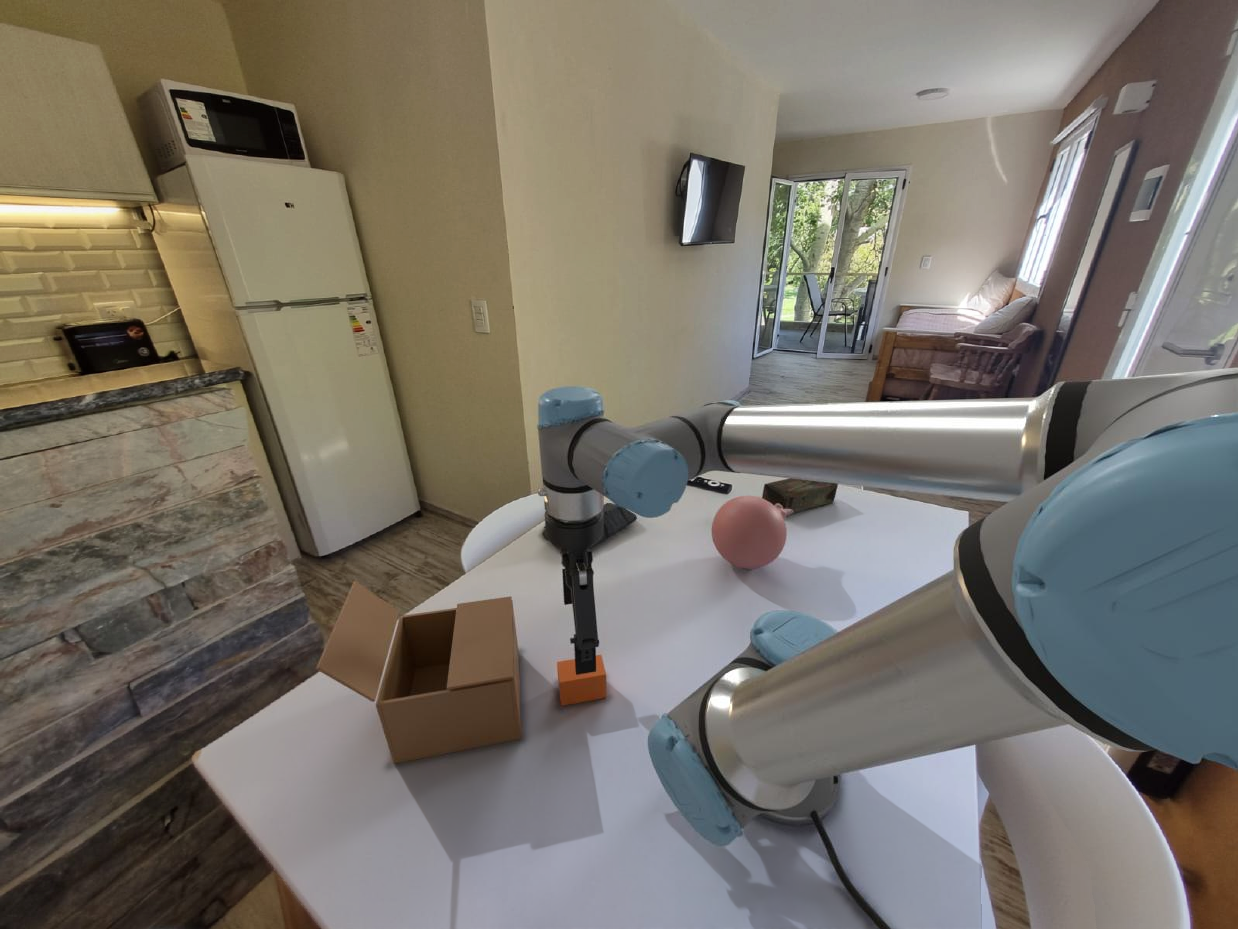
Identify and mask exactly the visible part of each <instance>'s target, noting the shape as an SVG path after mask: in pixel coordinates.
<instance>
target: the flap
mask: <svg viewBox="0 0 1238 929" xmlns="http://www.w3.org/2000/svg"><path fill="white" fill-rule="evenodd" d="M399 617H400V611H399V610H397V609H396V608H395V607H393V606H392V605H390V604H389V603H388V602H386V601H385V600H383V599H382V598H381V597H379V596H378V595H377V594H375V593H374V592H372V591H371V590H369V589H368V588H367V587H365V586H364V585H362V584H360V582H358V581H357V580H354V581H353V582H352V585H351V587H350V588H349V591H348V594H347V596H346V598H345V600H344V603H343V605H342V607H341V610H340V612H339V615H338V617H337V619H336V621H335V623H334V625H333V628H332V631H331V632H330V635H329V636H328V639H327V642H326V644H325V646H324V649H323V652H322V653H321V655H320V658H319V661H318V663H317V665H316V667H315V670H316V671H318V672H320V673H322V674H323V675H325V676H327V677H329V678H331V679H332V680H333V681H336V682H337V683H339V684H340V685H342V686H344V687H346V688H348V689H350V690H351V691H353V692H355V693H357V694H358V695H360V696H361V697H364V698H365V699H367V700H368V701H370V702H371V703H373V702H375V701H376V698H377V696H378V695H377V694H378V692H379V689H380V684H381V681H382V678H383V674H384V671H385V667H386V666H385V665H386V663H387V660H388V659H387V658H388V656H389V653H390V649H391V645H392V642H393V638H394V635H395V631H396V627H397V624H398V620H399Z"/></svg>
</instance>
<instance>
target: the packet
mask: <svg viewBox="0 0 1238 929" xmlns="http://www.w3.org/2000/svg"><path fill="white" fill-rule="evenodd" d="M556 668H557V670H556V671H557V682H558V692H559V700H560V706H561V707H564V706H568V705H569V706H570V705H575V704H580V703H584V702H590V701H595V700H601V699H607V672H606V668H605V664H604V659H603V655H602V654H596V672H591V673H585V674H579V675H576V671H575V658H572V659H567V660H566V659H564V660H561V661H556Z"/></svg>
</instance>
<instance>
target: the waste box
mask: <svg viewBox="0 0 1238 929" xmlns="http://www.w3.org/2000/svg"><path fill="white" fill-rule="evenodd" d="M387 658H388V659H387V661H386V664H385V665H386V666H385V668H384V672H383V675H382V679H381V682H380V684H381V685H380V686H379V690H378V693H377V694H378V695H377V697H376V698H377V699H376V702H375V708H376V711H377V714H378V718H379V721H380V724H381V728H382V732H383V733H384V737H385V740H386V744H387V746H388V750H389V752H390V756H391V760H392V763H393V764H400V763H405V762H409V761H416V760H419V759H425V758H431V757H436V756H440V755H445V754H451V753H456V752H460V751H465V750H471V749H476V748H481V747H486V746H491V745H496V744H500V743H507V742H511V741H517V740H521V739H523V736H522V735H523V734H522V705H521V704H522V703H521V682H520V681H521V680H520V679H521V678H520V677H521V676H520V652H519V644H518V636H517V627H516V617H515V610H514V601H513V598H512V596H503V597H495V598H490V599H481V600H476V601H468V602H461V603H460V602H459V603H457V604H456V607H453V608H445V609H439V610H432V611H431V610H430V611H424V612H419V613H418V612H417V613H411V614H404V615H403V614H402V615H399V617H398V620H397V624H396V628H395V631H394V635H393V639H392V642H391V646H390V650H389V653H388V657H387Z"/></svg>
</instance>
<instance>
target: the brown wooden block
mask: <svg viewBox="0 0 1238 929" xmlns="http://www.w3.org/2000/svg"><path fill="white" fill-rule="evenodd" d="M838 486H839V484H837V483H828V482H819V481H810V480H801V479H792V478H785V479H780V480H776V481H772V482H768V483H764V486H763V489H762V495H761V498H762V499H765V500H767V501H768V502H770V503H771V504H773V505H774V506H775V504H777V503H779V504H780V505H782V507H783V509H792V510H793V514H794V513H797V512H801V511H805V510H809V509H813V508H817V507H820V506H825V505H827V504H831V503H834V501H835V498H836V495H837V489H838Z"/></svg>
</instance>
